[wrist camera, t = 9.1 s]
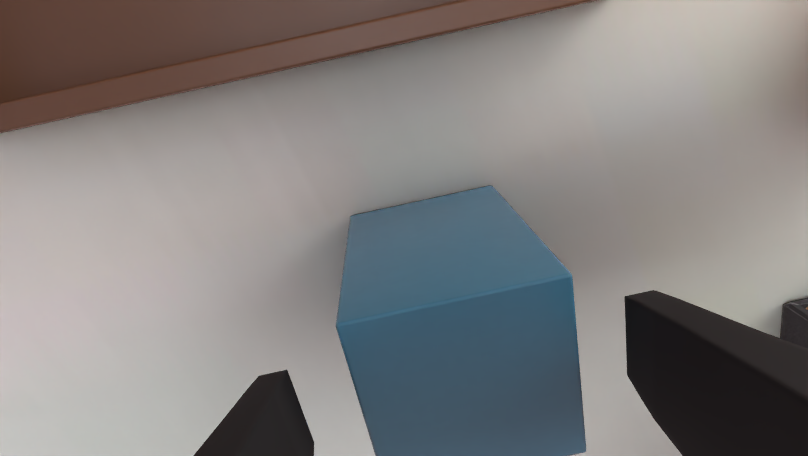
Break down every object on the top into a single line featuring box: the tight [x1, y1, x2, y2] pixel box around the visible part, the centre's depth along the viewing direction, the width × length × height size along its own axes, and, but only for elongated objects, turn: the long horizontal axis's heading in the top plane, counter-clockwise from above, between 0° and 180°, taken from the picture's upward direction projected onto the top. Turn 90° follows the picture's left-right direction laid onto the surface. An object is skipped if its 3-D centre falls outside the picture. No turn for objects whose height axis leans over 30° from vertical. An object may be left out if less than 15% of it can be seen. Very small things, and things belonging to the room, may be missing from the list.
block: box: [336, 185, 586, 456], centre depth 12 cm, size 4×4×6 cm
